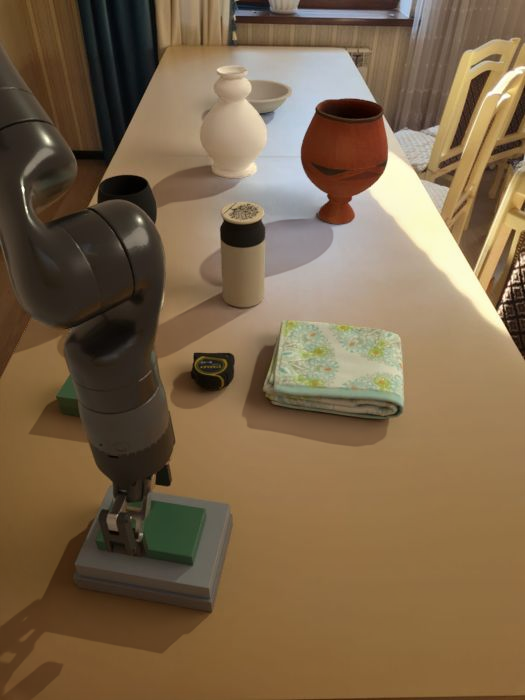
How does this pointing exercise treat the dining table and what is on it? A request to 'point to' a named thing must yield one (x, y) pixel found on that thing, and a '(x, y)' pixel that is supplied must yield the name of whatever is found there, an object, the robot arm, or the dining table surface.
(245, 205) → the travel mug
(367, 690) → the dining table surface
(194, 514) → the green book
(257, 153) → the decorative vase
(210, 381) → the tape measure
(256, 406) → the dining table surface
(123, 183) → the wine glass
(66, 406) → the green books
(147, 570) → the grey books
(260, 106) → the soup bowl
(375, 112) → the goblet
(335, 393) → the towel
